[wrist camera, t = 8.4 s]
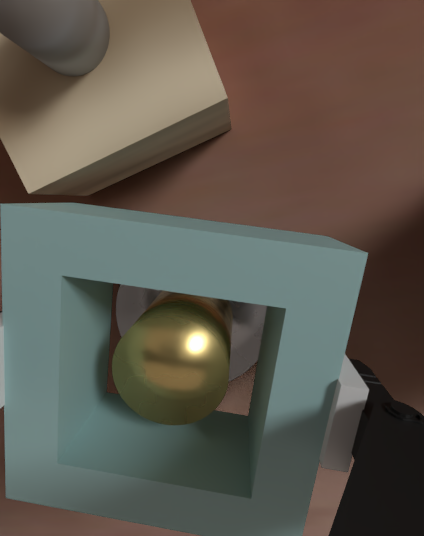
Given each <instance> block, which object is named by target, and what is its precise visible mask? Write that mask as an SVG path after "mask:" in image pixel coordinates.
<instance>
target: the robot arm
mask: <svg viewBox="0 0 424 536" xmlns="http://www.w3.org/2000/svg"><path fill="white" fill-rule="evenodd" d="M4 405H5V379H4V326H3V318H2V311H0V408H2V407H3V406H4ZM352 455H353V457H354V460H355V461H354V464H353V467H352V470H351V473H350V476H349V479H348V481H347V484H346V487H345V490H344V493H343V496H342V499H341V502H340V505H339V507H338V510H337V513H336V516H335V519H334V522H333V525H332V528H331V531H330V533H329V536H424V416H423V415H422V414H421V413H420V412H418V411H417V410H415V409H414V408H412V407H410V406H408V405H406V404H404V403H401V402H398V401H395V400H394V399H393V398H392V397H391V395H390V394H389V393H388V391H387V390H386V389H385V388H384V386H383V385H382V384H381V382H380V381H379V380H378V378H376V376H375V375H374V373H373V372H372V371H371V369H370V368H369V367H367V366H366V365H365V364H363V363H362V362H360V361H359V360H354V359H348V358H347V356H346V355H344V359H343V363H342V367H341V372H340V376H339V379H338V380H337V384H336V389H335V393H334V397H333V401H332V406H331V410H330V414H329V419H328V423H327V427H326V431H325V436H324V440H323V444H322V449H321V453H320V457H319V460H320V464H321V467H322V468H326V469H332V470H337V471H343V472H348V470H349V466H350V462H351V458H352Z"/></svg>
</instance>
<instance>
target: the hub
mask: <svg viewBox="0 0 424 536" xmlns="http://www.w3.org/2000/svg"><path fill="white" fill-rule="evenodd" d="M266 309H267V306H265V305H259V304H252V303H245V302H238V301H231V300H225V299H218V298H211V297H204V296H197V295H191V294H184V293H177V292H170V291H163V290H156V289H150V288H143V287H136V286H129V285H122V284H120V287H119V290H118V294H117V300H116V318H117V325H118V328H119V332H120V335H121V337H122V338H121V340H120V341H119V343H118V344H117V346H116V349H115V351H114V355H113V360H112V375H113V380H114V383H115V386H116V388H117V391H118V392H119V394H120V396H121V398H122V399H123V400H124V401H125V403H126V404H127V405H128V406H129V407H130V408H131V409H132V410H133V411H135V412H136V413H137V414H139V415H140V416H142V417H144V418H146V419H148V420H150V421H153V422H156V423H159V424H164V425H186V424H190V423H194V422H196V421H199V420H201V419H203V418H205V417H206V416H208V415H209V414H210V413H212V412H213V411H214V410H215V409H216V408H217V407H218V405H219V404H220V403H221V401H222V399H223V398H224V396H225V393H226V390H227V387H228V382H229V381H231V380H233V379H235V378H237V377H239V376H240V375H242V374H243V373H245V372H246V371H247V370H249V369H250V368H251V367H252V366H253V365H254V364H255V363H256V361H257V360H258V356H259V350H260V344H261V338H262V332H263V326H264V321H265V315H266Z"/></svg>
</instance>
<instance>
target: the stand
mask: <svg viewBox="0 0 424 536" xmlns="http://www.w3.org/2000/svg"><path fill="white" fill-rule="evenodd" d="M228 130H231V121H230V113H229V105H228V98H227V95H226V92H225V90H224V87H223V85H222V82H221V79H220V77H219V74H218V71H217V69H216V66H215V64H214V61H213V58H212V56H211V53H210V50H209V48H208V45H207V43H206V40H205V37H204V35H203V32H202V30H201V27H200V24H199V22H198V19H197V16H196V14H195V11H194V9H193V6H192V3H191V1H190V0H0V138H1V140H2V142H3V144H4V146H5V148H6V150H7V152H8V154H9V156H10V158H11V160H12V162H13V164H14V166H15V168H16V170H17V172H18V174H19V176H20V178H21V180H22V182H23V184H24V186H25V188H26V190H27V192H28V194H46V195H77V196H89V195H91V194H93V193H95V192H97V191H99V190H101V189H104V188H106V187H108V186H110V185H112V184H114V183H117V182H119V181H121V180H123V179H125V178H127V177H129V176H132V175H134V174H136V173H138V172H140V171H142V170H145V169H147V168H149V167H151V166H153V165H155V164H157V163H160V162H162V161H164V160H166V159H168V158H170V157H172V156H175V155H177V154H179V153H181V152H183V151H185V150H188V149H190V148H192V147H194V146H196V145H198V144H200V143H203V142H205V141H207V140H209V139H211V138H213V137H215V136H218V135H220V134H222V133H224V132H226V131H228Z"/></svg>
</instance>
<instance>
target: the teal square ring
mask: <svg viewBox="0 0 424 536" xmlns="http://www.w3.org/2000/svg"><path fill="white" fill-rule="evenodd" d="M0 206H1V262H2V318H3V326H4V379H5V405H4V430H5V486H6V498H8V499H14V500H19V501H24V502H29V503H34V504H40V505H45V506H50V507H55V508H61V509H66V510H71V511H76V512H81V513H87V514H92V515H97V516H102V517H108V518H113V519H118V520H123V521H129V522H134V523H139V524H144V525H149V526H155V527H160V528H165V529H170V530H176V531H181V532H186V533H191V534H197V535H202V536H302V534H303V530H304V526H305V521H306V517H307V513H308V508H309V504H310V500H311V496H312V491H313V487H314V483H315V479H316V474H317V470H318V466H319V461H320V460H319V457H320V453H321V449H322V444H323V440H324V436H325V431H326V427H327V423H328V419H329V414H330V410H331V406H332V401H333V397H334V393H335V389H336V384H337V380H338V379H339V376H340V372H341V367H342V363H343V359H344V355H345V350H346V346H347V342H348V338H349V333H350V329H351V325H352V320H353V316H354V312H355V308H356V303H357V299H358V295H359V291H360V286H361V282H362V278H363V274H364V269H365V265H366V261H367V256H368V253H367V252H364V251H362V250H359V249H357V248H355V247H352V246H350V245H347V244H345V243H342V242H340V241H338V240H335V239H333V238H330V237H328V236H322V235H314V234H307V233H299V232H292V231H284V230H277V229H269V228H262V227H254V226H246V225H239V224H231V223H224V222H216V221H209V220H201V219H194V218H186V217H179V216H171V215H164V214H156V213H148V212H141V211H133V210H126V209H118V208H111V207H103V206H96V205H88V204H81V203H11V204H0ZM113 283H116V284H122V285H129V286H136V287H143V288H150V289H156V290H163V291H170V292H177V293H184V294H191V295H197V296H204V297H211V298H218V299H225V300H231V301H238V302H245V303H252V304H259V305H265V306H267V309H266V315H265V321H264V326H263V332H262V338H261V344H260V350H259V356H258V362H257V367H256V373H255V379H254V385H253V391H252V397H251V403H250V408H249V414H248V416H245V415H239V414H233V413H227V412H221V411H215V410H214V411H213V412H212V413H210V414H209V415H208V416H206V417H205V418H203V419H201V420H199V421H196V422H194V423H190V424H186V425H164V424H159V423H156V422H153V421H150V420H148V419H146V418H144V417H142V416H140V415H139V414H137V413H136V412H135V411H133V410H132V409H131V408H130V407H129V406H128V405H127V404H126V403H125V401H124V400H123V399H122V398H121V396H120V394H114V393H108V392H107V378H108V361H109V345H110V328H111V311H112V295H113Z"/></svg>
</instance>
